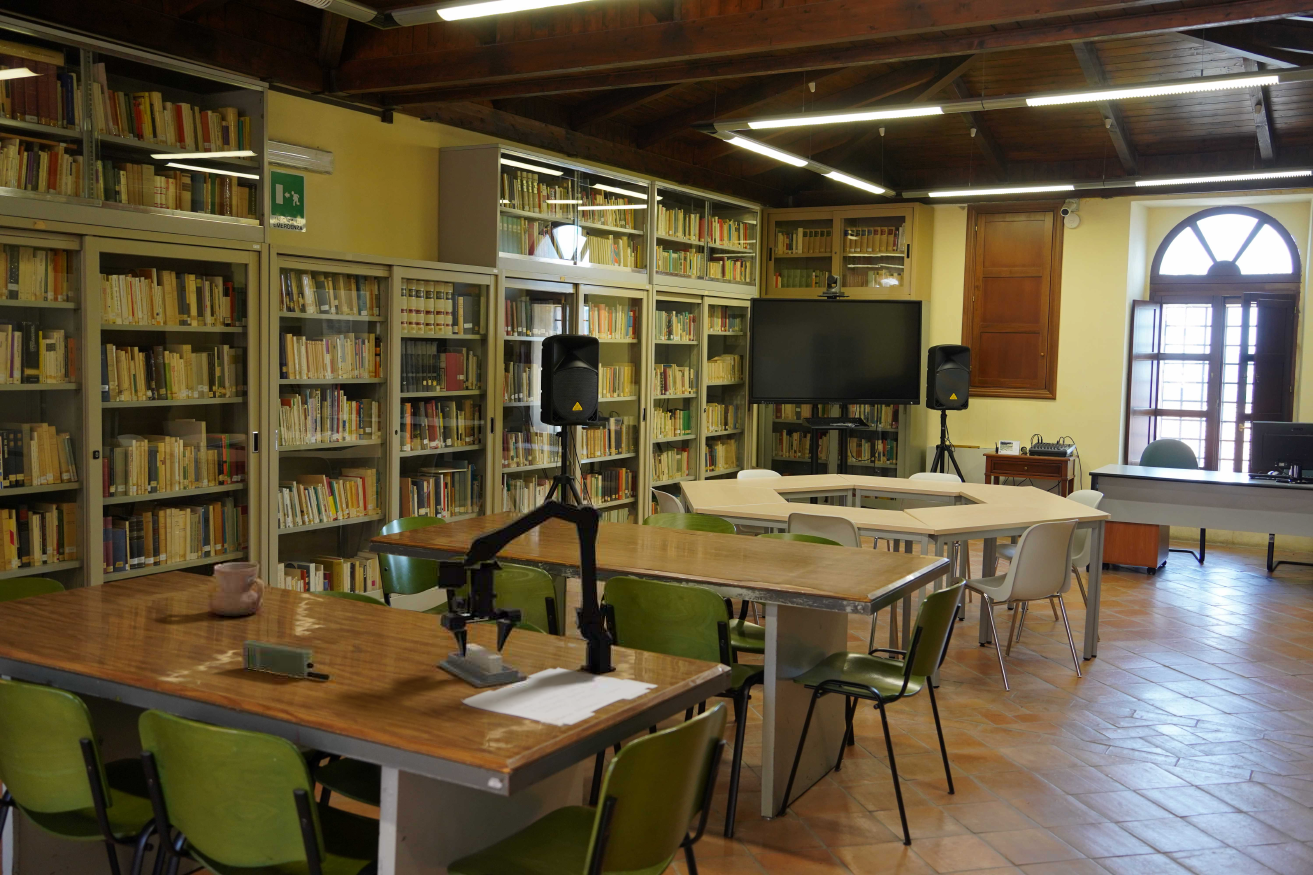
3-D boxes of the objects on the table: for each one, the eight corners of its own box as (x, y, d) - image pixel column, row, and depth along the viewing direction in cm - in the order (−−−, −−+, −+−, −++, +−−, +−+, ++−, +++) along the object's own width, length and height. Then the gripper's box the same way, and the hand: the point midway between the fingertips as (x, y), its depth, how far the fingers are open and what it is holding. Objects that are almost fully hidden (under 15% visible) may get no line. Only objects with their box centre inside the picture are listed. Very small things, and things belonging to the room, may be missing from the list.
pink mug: (194, 615, 305) (195, 566, 304) (233, 605, 318) (233, 558, 317) (242, 623, 297) (242, 573, 296) (279, 613, 311) (280, 565, 310)
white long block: (502, 673, 245) (502, 656, 245) (490, 675, 243) (490, 658, 243) (473, 659, 257) (473, 643, 257) (462, 661, 256) (462, 644, 255)
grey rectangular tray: (526, 679, 245) (526, 668, 245) (479, 687, 238) (479, 676, 238) (483, 658, 263) (483, 648, 263) (438, 665, 256) (438, 654, 256)
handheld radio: (252, 666, 253) (333, 680, 242) (241, 670, 250) (323, 684, 239) (251, 639, 252) (332, 652, 241) (240, 642, 249) (322, 655, 238)
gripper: (502, 579, 261) (501, 642, 262) (431, 586, 251) (430, 651, 251) (523, 586, 252) (522, 651, 253) (451, 594, 242) (450, 662, 242)
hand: (481, 654), depth 250 cm, fingers open, 9 cm apart
